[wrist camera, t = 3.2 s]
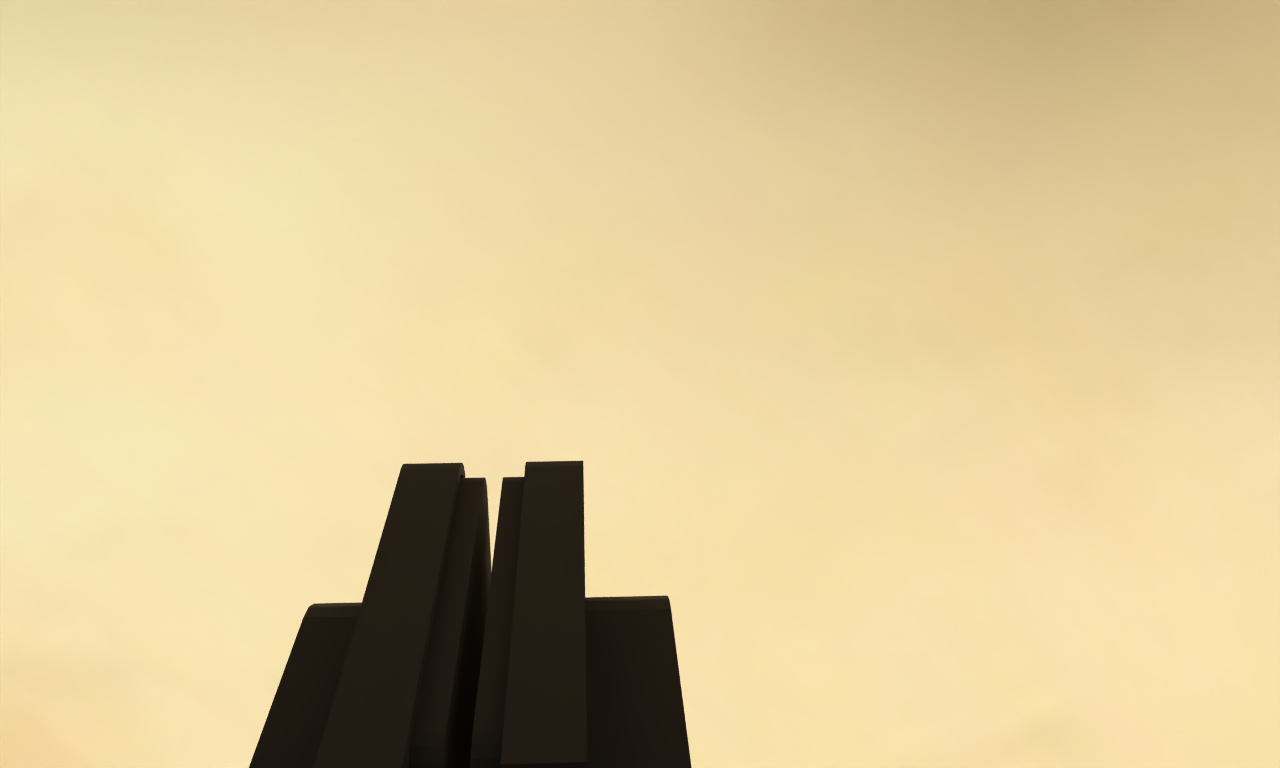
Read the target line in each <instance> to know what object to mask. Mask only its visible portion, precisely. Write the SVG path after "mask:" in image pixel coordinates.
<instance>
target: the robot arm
mask: <svg viewBox="0 0 1280 768" xmlns="http://www.w3.org/2000/svg"><path fill="white" fill-rule="evenodd" d="M249 768H691V761H690V753H689V745H688V738H687V730H686V722H685V714H684V707H683V699H682V691H681V684H680V676H679V668H678V660H677V653H676V645H675V637H674V629H673V622H672V614H671V607H670V601H669V598H668V596H635V597H591V598H585V558H584V483H583V461H551V462H526V465H525V476H524V477H504V478H503V481H502V489H501V498H500V506H499V515H498V523H497V531H496V540H495V548H494V557H493V565H492V573H491V554H490V535H489V516H488V497H487V484H486V479H485V478H465V471H464V466H463V463H430V464H403V465H402V468H401V470H400V474H399V477H398V481H397V484H396V488H395V491H394V495H393V498H392V501H391V505H390V508H389V512H388V515H387V519H386V522H385V525H384V529H383V532H382V536H381V539H380V543H379V546H378V550H377V553H376V556H375V560H374V563H373V567H372V570H371V574H370V577H369V581H368V584H367V587H366V591H365V594H364V598H363V601H362V603H325V604H313V605H311V606H310V607H309V608H308V610H307V612H306V614H305V616H304V618H303V620H302V623H301V626H300V629H299V631H298V634H297V637H296V640H295V642H294V645H293V648H292V651H291V653H290V656H289V659H288V662H287V664H286V667H285V670H284V673H283V675H282V678H281V681H280V684H279V686H278V689H277V692H276V695H275V697H274V700H273V703H272V706H271V708H270V711H269V714H268V717H267V719H266V722H265V725H264V728H263V730H262V733H261V736H260V739H259V741H258V744H257V747H256V750H255V752H254V755H253V758H252V761H251V763H250V766H249Z"/></svg>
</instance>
